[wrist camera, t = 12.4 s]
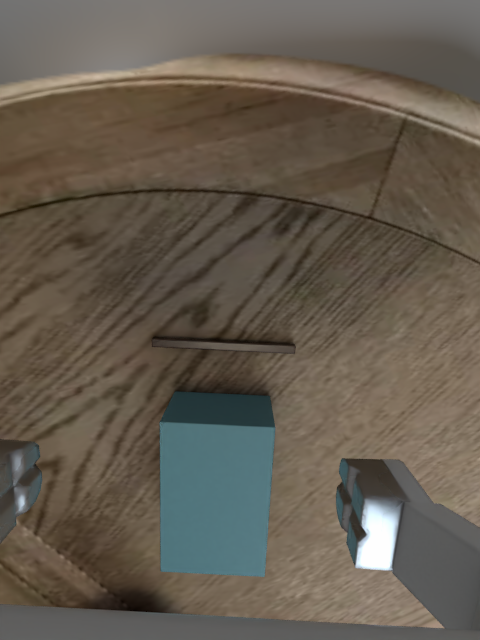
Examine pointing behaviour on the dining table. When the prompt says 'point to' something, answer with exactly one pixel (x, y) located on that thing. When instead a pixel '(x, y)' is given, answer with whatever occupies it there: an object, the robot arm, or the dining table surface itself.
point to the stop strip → (223, 345)
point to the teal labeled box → (215, 483)
